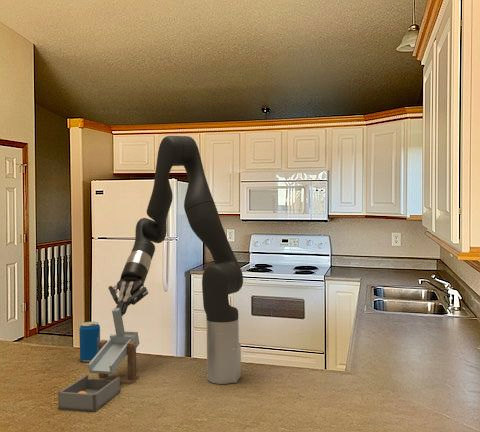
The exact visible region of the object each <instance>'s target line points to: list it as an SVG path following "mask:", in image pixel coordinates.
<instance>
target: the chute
mask: <svg viewBox="0 0 480 432" xmlns="http://www.w3.org/2000/svg"><path fill="white" fill-rule="evenodd" d="M111 314H112V319H113V325H114V330H115V334H110V335H109V339H107V343H106V344H105V345H104V346H103V347H102V349H101V350H100V351H99V352H98V353H97V354H96V356H95V357H94V358H93V359H92V360H91V362H88V370H89V371H88V372H89V373H90V374H99V373H101V374H114V373H115V372H116V370H117V369H118V368H119V367H120V365H121V364H122V362H123V360H125V358H126V357H127V343H129V342H130V341H136V344H137V347H138V346H139V345H140V337H139V333H138V331H126V330H125V325H124V321H123V316H122V314H121V308H116V307H114V308H113V309H112V310H111Z"/></svg>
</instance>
